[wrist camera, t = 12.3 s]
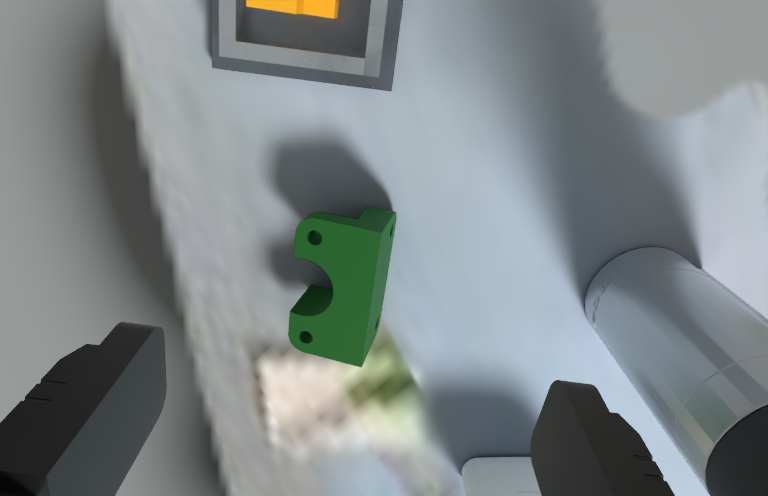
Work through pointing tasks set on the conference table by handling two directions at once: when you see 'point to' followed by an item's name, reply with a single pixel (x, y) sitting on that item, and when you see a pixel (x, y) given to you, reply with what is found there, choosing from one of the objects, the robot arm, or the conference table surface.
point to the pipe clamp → (299, 6)
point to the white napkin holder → (500, 477)
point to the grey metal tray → (310, 42)
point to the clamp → (343, 283)
